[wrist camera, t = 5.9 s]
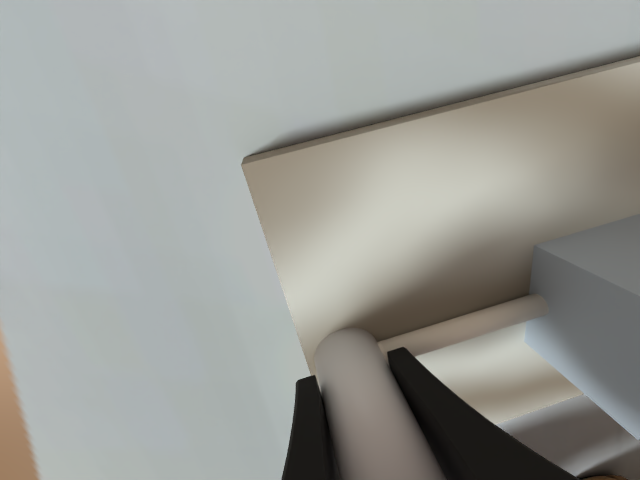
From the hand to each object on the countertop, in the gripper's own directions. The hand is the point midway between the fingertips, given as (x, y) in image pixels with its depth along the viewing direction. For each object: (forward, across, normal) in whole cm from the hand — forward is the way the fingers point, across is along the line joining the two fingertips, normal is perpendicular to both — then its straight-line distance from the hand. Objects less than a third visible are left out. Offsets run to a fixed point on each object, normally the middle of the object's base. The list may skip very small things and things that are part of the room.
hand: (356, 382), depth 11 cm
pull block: (+1, -6, 0) cm, 6 cm away
